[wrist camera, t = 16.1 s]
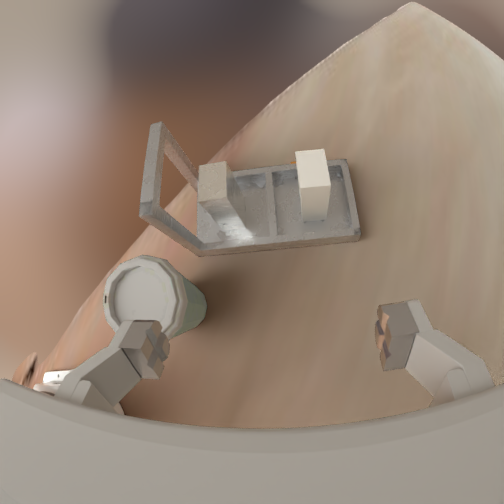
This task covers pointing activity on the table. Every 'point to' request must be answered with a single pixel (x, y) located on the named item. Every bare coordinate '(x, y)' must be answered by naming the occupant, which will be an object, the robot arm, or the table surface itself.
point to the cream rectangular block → (313, 184)
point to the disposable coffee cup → (153, 296)
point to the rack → (245, 204)
